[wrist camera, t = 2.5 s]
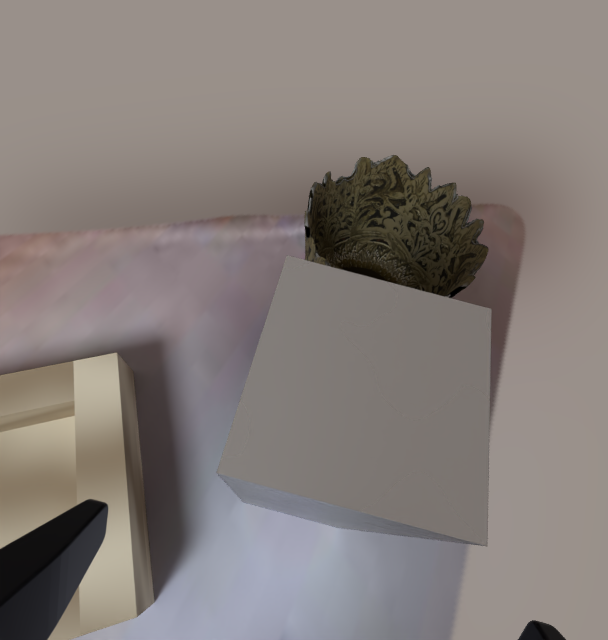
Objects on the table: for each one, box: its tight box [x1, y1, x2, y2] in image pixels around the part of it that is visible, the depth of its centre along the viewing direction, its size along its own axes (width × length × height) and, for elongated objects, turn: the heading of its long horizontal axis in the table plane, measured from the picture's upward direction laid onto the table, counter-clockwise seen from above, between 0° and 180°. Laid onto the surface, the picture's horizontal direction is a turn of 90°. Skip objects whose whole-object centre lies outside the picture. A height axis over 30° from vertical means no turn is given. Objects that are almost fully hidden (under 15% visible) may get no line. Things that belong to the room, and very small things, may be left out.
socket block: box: [0, 353, 154, 640], centre depth 16 cm, size 10×10×3 cm
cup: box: [305, 155, 488, 298], centre depth 19 cm, size 8×7×8 cm
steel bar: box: [217, 255, 491, 546], centre depth 13 cm, size 4×4×13 cm
